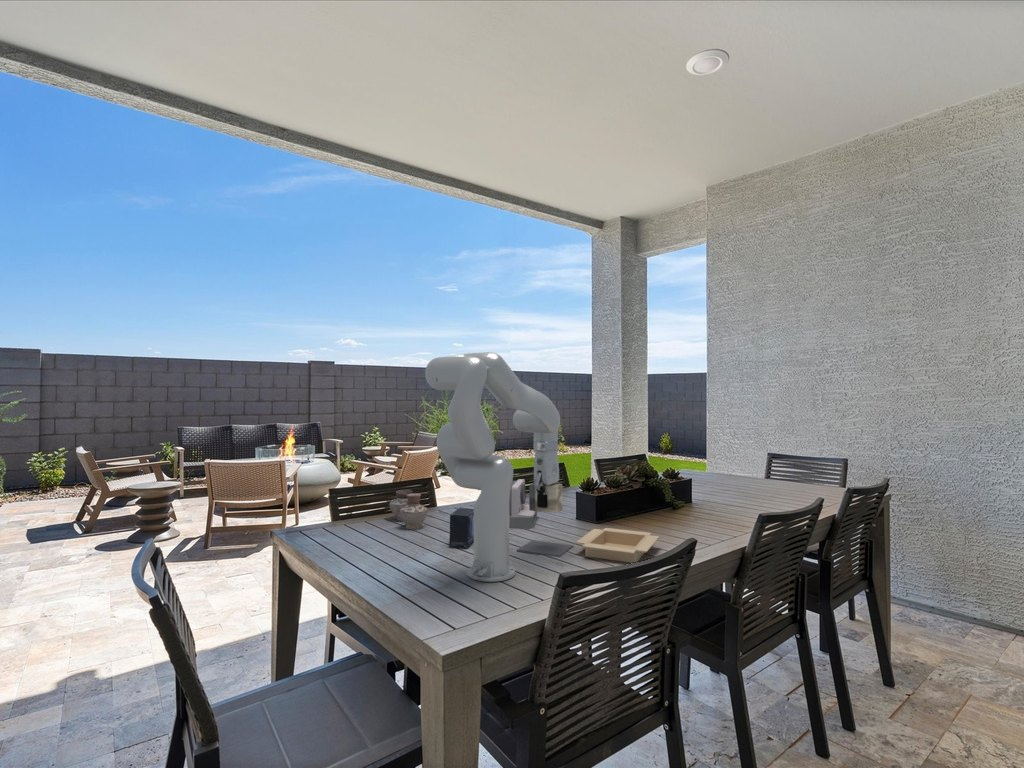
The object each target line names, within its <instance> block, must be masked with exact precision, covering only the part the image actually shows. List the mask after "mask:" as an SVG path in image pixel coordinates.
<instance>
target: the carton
mask: <svg viewBox="0 0 1024 768" xmlns="http://www.w3.org/2000/svg"><path fill="white" fill-rule="evenodd" d="M659 538H660V536H658V535H652V532H646V531H637V530H631V529H630V530H628V529H621V528H620V529H619V528H612V527H609V528H608V527H605V528H603V529H599V528H593V529H592V530H590V531H589V532H587V533H586V534H585V535H583V536H582V537H580V538H579V539H577V541H575V544H579V545H582V546H581V548H584V549H585V550H584V555H585V557H590V558H596V559H605V560H610V561H616V562H617V561H618V562H625V563H632V562H637V561H638V562H639V560H640V559H641V558H642V557H643V555H644V554H645V553H648V551H649V550H650V549H651V548H652V547H653V545H654V544H655V543H656V541H658V539H659ZM641 556H642V557H641ZM638 562H637V563H638ZM632 564H633V563H632Z"/></svg>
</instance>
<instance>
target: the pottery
mask: <svg viewBox="0 0 1024 768" xmlns="http://www.w3.org/2000/svg"><path fill="white" fill-rule="evenodd" d="M395 493H396V498H394V499H392V500H391V501H390V502H389V509H390V510H391V512H392V514H393V515H394V516H395V517H396V520H397V521H398V522H399V521H400V522H404V524H405V529H406V530H420V529H421V528H422V527H423V526H422V524H423V522H424V521H425V520H426V517H427V514H428V508H427V507H426V506H424V505H422V504H421V503H420V500H421V496H422V494H420V493H413V490H410V489H403V490H402V489H401V490H397V491H395Z"/></svg>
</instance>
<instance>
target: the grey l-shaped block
mask: <svg viewBox="0 0 1024 768" xmlns="http://www.w3.org/2000/svg"><path fill="white" fill-rule="evenodd" d="M526 488H527V487H526V480H525V479H524V478H523V479H521V478H520V479H519V478H518V479H517V480H512V485H511V491H510V503H509V529H523V530H525V529H526V530H527V529H528V530H530V529H533V527H534V525H535V523H536V521H537V518H538V511H530V510H529V504H528V503H527V504H526V500H527V489H526Z"/></svg>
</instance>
